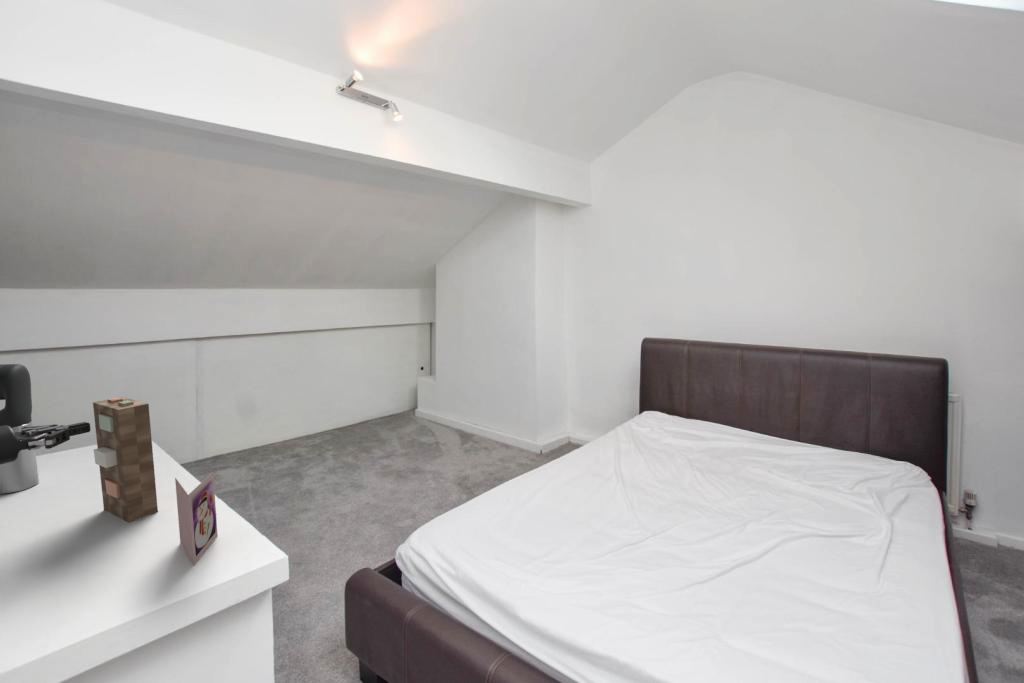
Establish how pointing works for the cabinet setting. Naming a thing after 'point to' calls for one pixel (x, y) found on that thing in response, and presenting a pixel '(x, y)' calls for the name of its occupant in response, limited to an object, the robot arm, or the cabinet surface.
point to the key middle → (105, 457)
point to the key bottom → (112, 488)
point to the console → (128, 458)
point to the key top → (106, 422)
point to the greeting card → (197, 518)
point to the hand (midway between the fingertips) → (88, 426)
